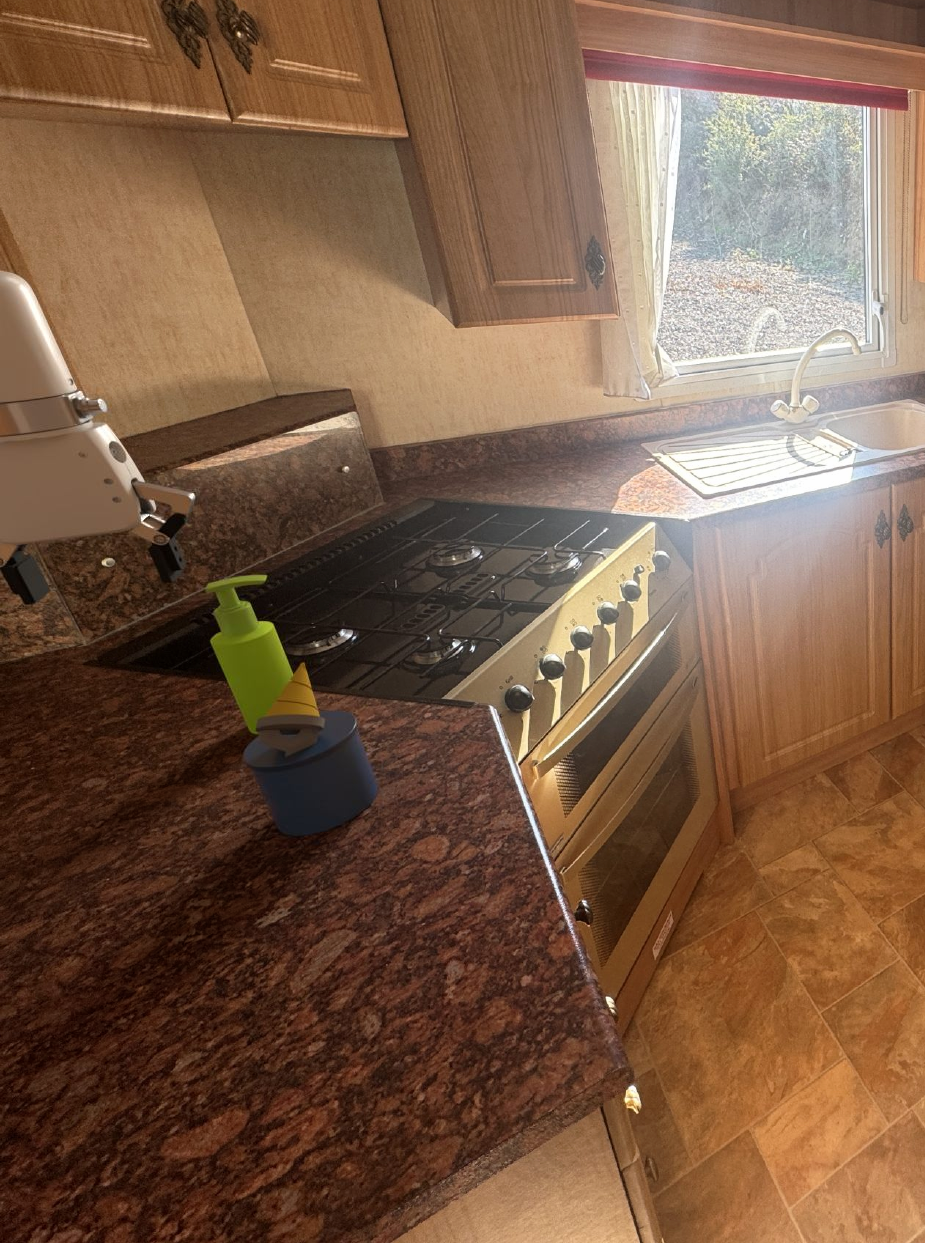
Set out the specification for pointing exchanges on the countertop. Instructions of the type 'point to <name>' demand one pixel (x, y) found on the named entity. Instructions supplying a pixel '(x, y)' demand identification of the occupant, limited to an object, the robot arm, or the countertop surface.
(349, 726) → the tin
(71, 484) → the robot arm
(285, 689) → the drill bit
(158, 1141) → the countertop surface
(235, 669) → the soap dispenser
